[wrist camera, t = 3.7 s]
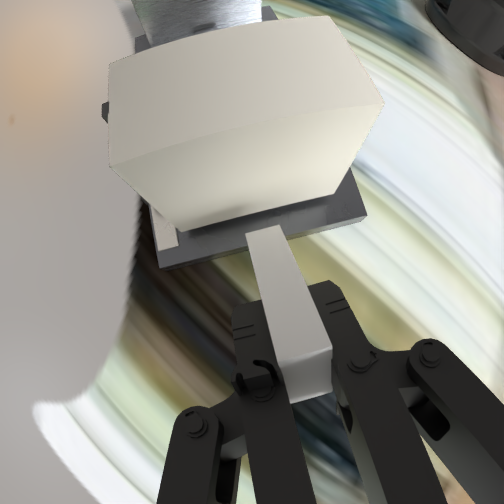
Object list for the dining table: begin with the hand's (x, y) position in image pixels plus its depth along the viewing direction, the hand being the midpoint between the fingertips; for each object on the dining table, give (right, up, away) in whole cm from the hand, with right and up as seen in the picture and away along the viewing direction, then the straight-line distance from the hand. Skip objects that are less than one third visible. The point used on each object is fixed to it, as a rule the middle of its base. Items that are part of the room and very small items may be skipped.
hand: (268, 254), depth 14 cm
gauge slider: (-2, +5, +4) cm, 6 cm away
